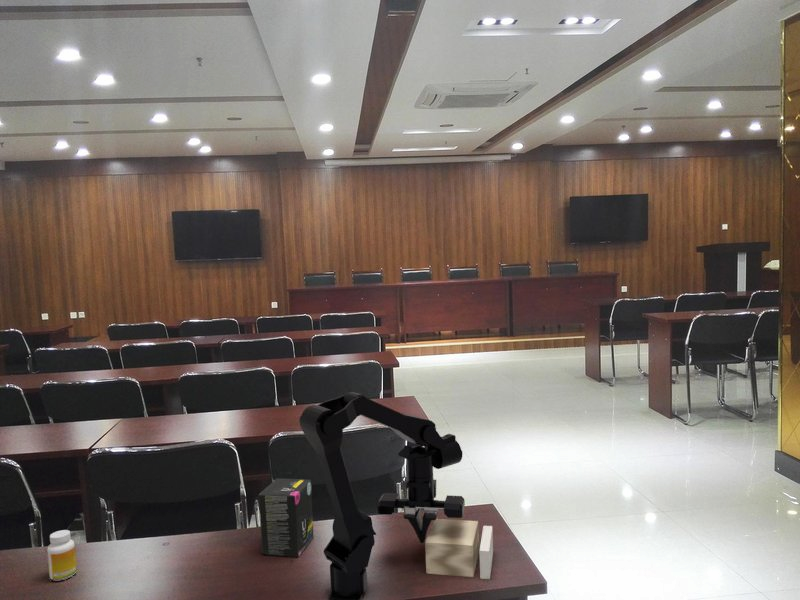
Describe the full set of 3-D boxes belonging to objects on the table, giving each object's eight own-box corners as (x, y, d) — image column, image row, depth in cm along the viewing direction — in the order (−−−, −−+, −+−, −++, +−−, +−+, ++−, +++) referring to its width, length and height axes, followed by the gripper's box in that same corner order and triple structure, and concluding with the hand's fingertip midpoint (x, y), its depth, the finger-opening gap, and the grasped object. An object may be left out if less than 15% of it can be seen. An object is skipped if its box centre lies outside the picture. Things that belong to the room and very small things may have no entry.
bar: (480, 578, 129) (479, 550, 129) (484, 551, 141) (483, 525, 141) (489, 579, 129) (489, 551, 128) (493, 551, 141) (492, 526, 140)
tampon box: (299, 558, 141) (295, 495, 140) (261, 555, 143) (257, 494, 142) (315, 536, 152) (312, 478, 151) (279, 534, 154) (276, 477, 153)
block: (426, 574, 132) (425, 542, 132) (435, 547, 144) (434, 518, 143) (473, 577, 130) (472, 545, 130) (479, 550, 142) (478, 521, 141)
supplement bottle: (82, 573, 138) (78, 531, 137) (58, 584, 134) (55, 541, 133) (68, 568, 141) (64, 526, 140) (44, 579, 136) (40, 536, 136)
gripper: (466, 462, 142) (467, 528, 144) (386, 460, 146) (389, 524, 147) (461, 480, 132) (463, 551, 133) (375, 477, 135) (378, 546, 136)
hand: (422, 542), depth 138 cm, fingers closed
